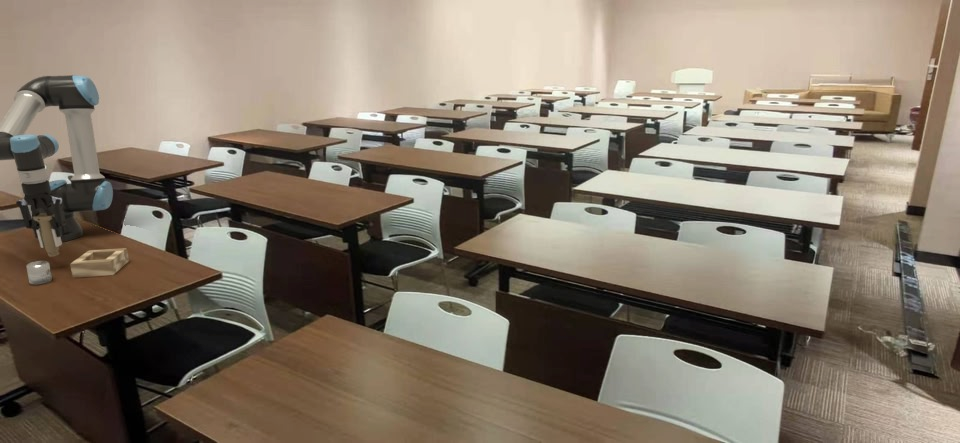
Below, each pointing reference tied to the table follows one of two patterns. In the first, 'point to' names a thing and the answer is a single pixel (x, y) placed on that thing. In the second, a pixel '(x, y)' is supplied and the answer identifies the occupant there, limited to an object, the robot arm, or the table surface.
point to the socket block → (99, 262)
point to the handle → (47, 234)
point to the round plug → (39, 272)
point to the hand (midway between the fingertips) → (51, 245)
